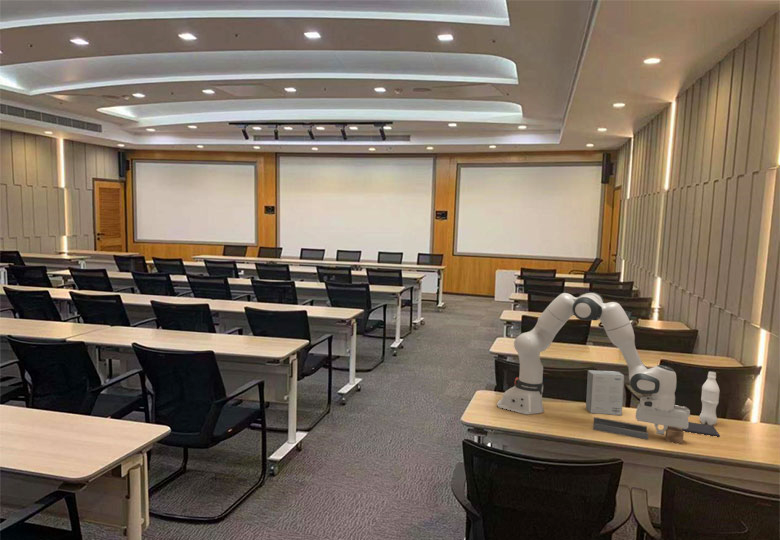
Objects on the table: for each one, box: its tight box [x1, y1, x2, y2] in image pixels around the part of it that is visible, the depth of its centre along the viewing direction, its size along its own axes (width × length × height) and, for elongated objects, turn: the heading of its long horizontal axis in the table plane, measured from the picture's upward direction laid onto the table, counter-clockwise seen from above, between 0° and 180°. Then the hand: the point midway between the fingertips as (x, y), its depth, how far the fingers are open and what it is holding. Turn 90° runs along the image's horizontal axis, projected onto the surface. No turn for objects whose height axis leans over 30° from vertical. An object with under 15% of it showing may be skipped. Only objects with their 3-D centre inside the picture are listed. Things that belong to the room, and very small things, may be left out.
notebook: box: [682, 421, 720, 438], centre depth 232 cm, size 13×2×21 cm
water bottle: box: [699, 371, 720, 426], centre depth 238 cm, size 7×7×25 cm
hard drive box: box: [585, 369, 625, 416], centre depth 248 cm, size 16×8×20 cm, turn 84°
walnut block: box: [664, 426, 685, 445], centre depth 216 cm, size 6×6×5 cm
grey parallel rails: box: [592, 416, 649, 441], centre depth 224 cm, size 22×10×2 cm, turn 66°
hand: (660, 434), depth 218 cm, fingers closed
